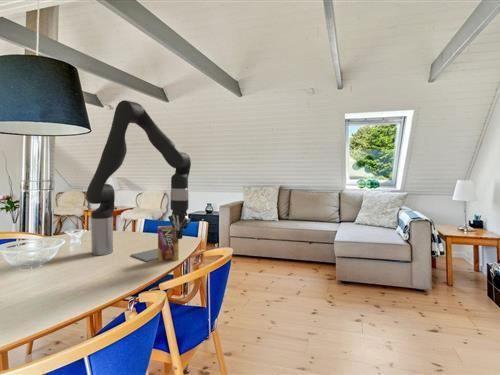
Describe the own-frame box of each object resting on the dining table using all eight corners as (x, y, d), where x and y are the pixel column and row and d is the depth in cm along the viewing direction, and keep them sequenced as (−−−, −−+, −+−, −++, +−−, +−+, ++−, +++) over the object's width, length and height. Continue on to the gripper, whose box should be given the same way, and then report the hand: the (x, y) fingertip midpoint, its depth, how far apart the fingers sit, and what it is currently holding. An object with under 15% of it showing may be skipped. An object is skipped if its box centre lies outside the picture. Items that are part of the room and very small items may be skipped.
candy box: (178, 257, 132) (178, 224, 131) (178, 260, 128) (178, 226, 127) (157, 259, 129) (157, 225, 129) (158, 262, 125) (158, 227, 125)
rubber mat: (130, 255, 134) (130, 254, 134) (160, 249, 146) (160, 247, 146) (147, 262, 125) (147, 260, 125) (177, 254, 138) (177, 252, 137)
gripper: (162, 198, 124) (162, 237, 124) (182, 200, 115) (182, 242, 116) (177, 197, 129) (176, 235, 130) (196, 199, 121) (196, 239, 122)
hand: (179, 238), depth 123 cm, fingers closed
